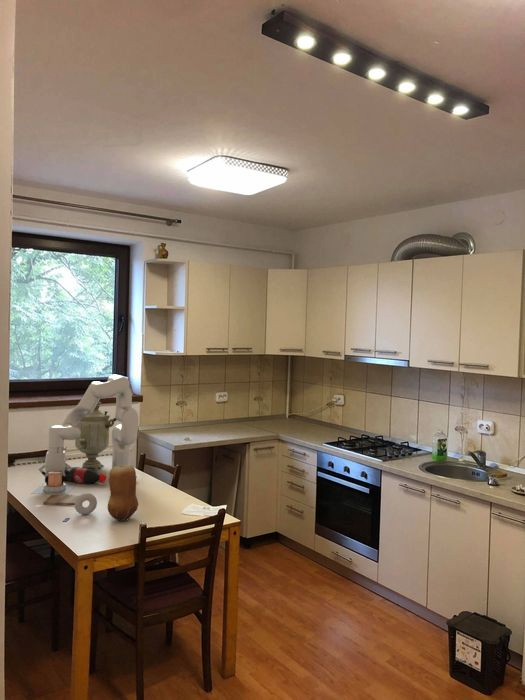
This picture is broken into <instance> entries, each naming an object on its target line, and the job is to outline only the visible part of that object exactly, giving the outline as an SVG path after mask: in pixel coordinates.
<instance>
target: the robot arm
mask: <svg viewBox="0 0 525 700" xmlns="http://www.w3.org/2000/svg"><path fill="white" fill-rule="evenodd" d="M114 396H115V398H116V399H115V400H116V403H115V414H114V416H115V417H114V418H116V419H117V420H116V421H117V422H119V423H120V424H117V425H115V426H114V427H113V428H112V431H111V441H112V454H111V455H112V456H111V457H112V458H111V469H112V468H113V467H115V466H120V465H131V464H130V463H131V461H130V460H131V445H133V444H134V443H135V442H136V440H137V438H138V431H139V414H138V412H137V410H136V409H135V408H133V405H132V404H133V403H132V402H133V398H132V397H133V394H132V390H131V388H130V381H129V378H127V377H125V376H122V375H119V374H112V375H109V376H108V378H107V381H104V382H101V381H92V382H91V383H90V384H89V385H88V388H87V389H86V391H85V393H84V394H83V396H82V398H81V399H80V400H79V402H78V403H77V405H76V406H74V407H73V409H72V410H71V411H70V412H69V413H68V414H67V415H66V417H65V419H64V421H62V424H61V425H52V426H50V427H48V445H47V446H48V447H47V452H46V454H45V461H44V464H42V466H40V467H39V468H38V471H39V472H40V473H41V474H42V475H43V476H44V483H46V484H48V473H51V472H62V474H63V475H62V484H63V482H64V483H65V482H66V480H65V475H66V474H67V473H68V472H69V471H70V470H71V469H72V466H71V465H69V464H68V463H67V462H66V461H67V459H66V458H67V455H66V450H67V447H65V446H64V444H65V443H64V442H65V440H67V441H73V440H74V441H75V439H77V438H78V437H79V436H80V434H81V431H80V429H79V428H78V427H77V424H78V423H79V421H80V420H81V419H82V418H83V417H85V416H86V415H89V414H90V413H92V412H93V410H94V409H95V407H96V405H97V403H98V402H100V400H102V399H107V398H111V397H114ZM66 467H67V468H68V470H67V471H65V468H66ZM43 469H44V470H43ZM137 478H138V475H137V474H136V479H137Z"/></svg>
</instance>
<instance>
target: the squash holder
mask: <svg viewBox="0 0 525 700" xmlns="http://www.w3.org/2000/svg"><path fill="white" fill-rule="evenodd" d="M77 485H78V484H77V483H65V482H63V484H62V486H59V487H49V486H48V484H46V482H44V483H42V484H40V485H39V486H38V487H36V489H34V490H33V491H32V492H31V493H30V494H31V495H68V494H69V493H70V492H71V491H73V489H74V488H75V487H77Z"/></svg>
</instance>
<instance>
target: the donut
mask: <svg viewBox="0 0 525 700" xmlns="http://www.w3.org/2000/svg"><path fill="white" fill-rule="evenodd" d="M85 501H88V502H89V504H88V506H84V505H83V503H84V502H85ZM97 505H98V500H97V497H96V496H95V494H92V493H90V492H85V493H81V494H80V496H79V497H78V498H77V499H76V501H75V506H74V509H75V511H76V512H77V513H78V514H79V515H83V516H86V515H85V514H87V515H90V514H92V513H93V512H94V511H95V510H96V508H97Z"/></svg>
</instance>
